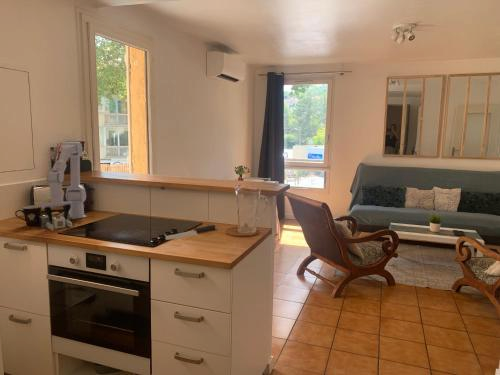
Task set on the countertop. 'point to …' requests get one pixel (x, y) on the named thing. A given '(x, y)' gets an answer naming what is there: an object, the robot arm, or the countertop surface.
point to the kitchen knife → (191, 232)
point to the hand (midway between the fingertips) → (58, 220)
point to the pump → (58, 222)
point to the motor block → (45, 218)
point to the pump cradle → (53, 226)
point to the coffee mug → (31, 215)
